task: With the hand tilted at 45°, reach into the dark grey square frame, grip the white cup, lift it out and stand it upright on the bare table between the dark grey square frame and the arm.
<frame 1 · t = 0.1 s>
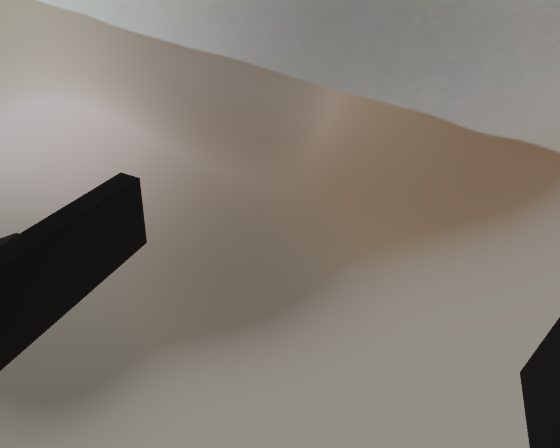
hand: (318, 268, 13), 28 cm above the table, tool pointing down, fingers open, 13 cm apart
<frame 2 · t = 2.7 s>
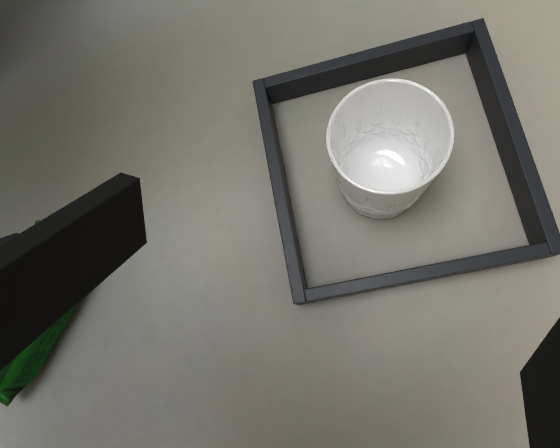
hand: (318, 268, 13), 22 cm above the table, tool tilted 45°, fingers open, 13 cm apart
white cup: (379, 183, 36), resting in dark grey square frame
snack package: (48, 309, 39), on the table
dark grey square frame: (388, 169, 35), on the table
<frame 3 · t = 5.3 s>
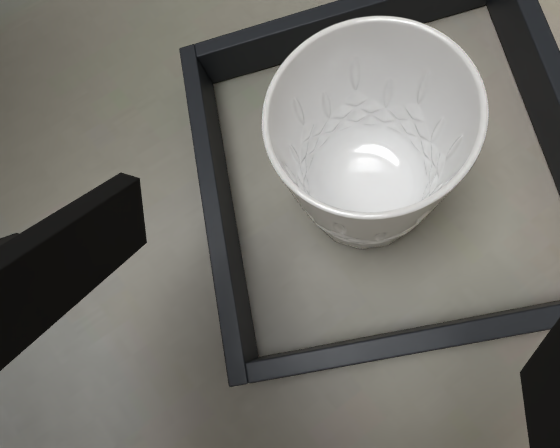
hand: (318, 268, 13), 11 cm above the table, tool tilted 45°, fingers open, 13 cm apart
white cup: (364, 194, 24), resting in dark grey square frame
dark grey square frame: (377, 173, 24), on the table
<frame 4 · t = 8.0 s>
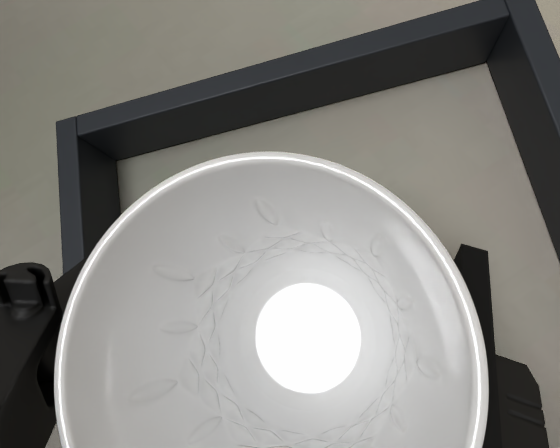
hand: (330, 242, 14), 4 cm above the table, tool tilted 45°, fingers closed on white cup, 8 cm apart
white cup: (311, 334, 17), resting in dark grey square frame, touching gripper
dark grey square frame: (330, 305, 17), on the table
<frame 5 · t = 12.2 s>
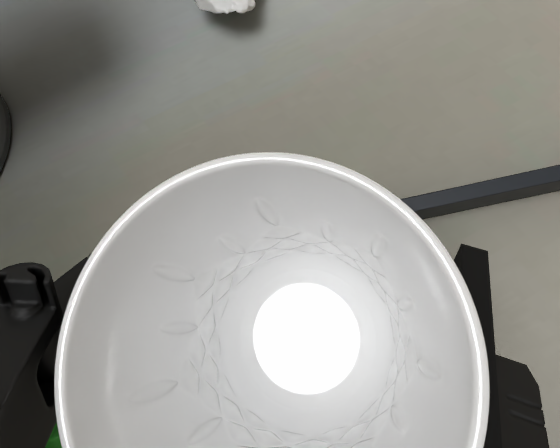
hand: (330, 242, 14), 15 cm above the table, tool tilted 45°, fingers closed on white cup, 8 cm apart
white cup: (312, 334, 17), point 12 cm above the table, touching gripper
when the fingers open (4 cm above the table, at t = 16.6 s): white cup stays where it is, on the table.
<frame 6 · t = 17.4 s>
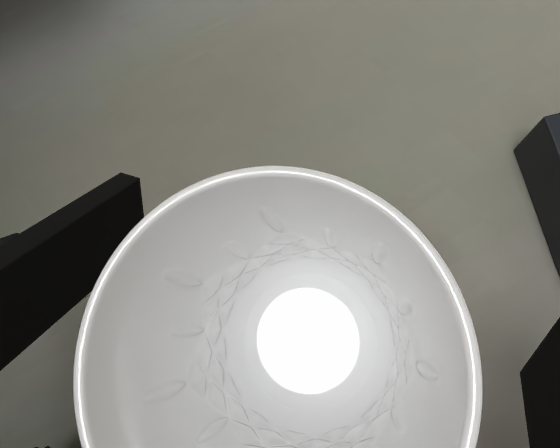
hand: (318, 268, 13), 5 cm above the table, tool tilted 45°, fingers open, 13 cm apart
white cup: (314, 337, 17), on the table
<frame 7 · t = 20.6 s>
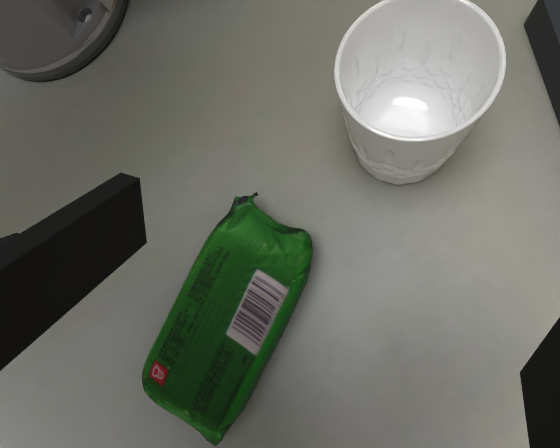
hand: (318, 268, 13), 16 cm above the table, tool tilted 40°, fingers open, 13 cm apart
white cup: (400, 141, 29), on the table
snack package: (242, 314, 30), on the table
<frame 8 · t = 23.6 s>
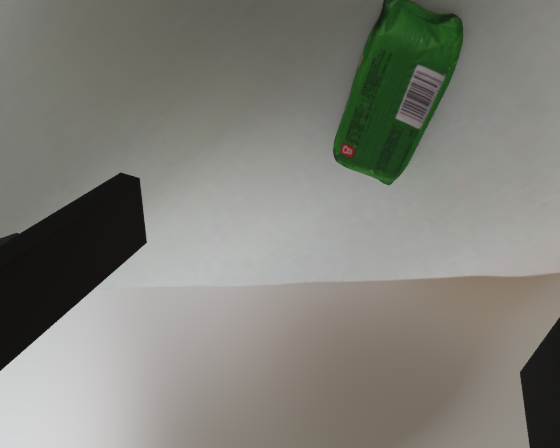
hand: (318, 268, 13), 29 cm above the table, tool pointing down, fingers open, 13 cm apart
snack package: (395, 91, 37), on the table
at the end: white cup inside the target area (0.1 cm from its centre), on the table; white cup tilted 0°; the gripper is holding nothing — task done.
